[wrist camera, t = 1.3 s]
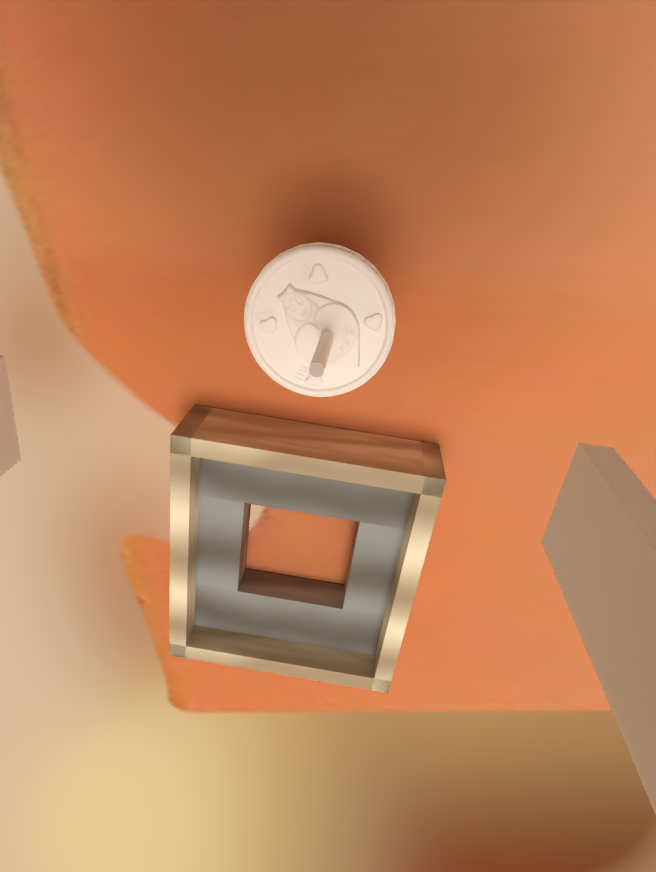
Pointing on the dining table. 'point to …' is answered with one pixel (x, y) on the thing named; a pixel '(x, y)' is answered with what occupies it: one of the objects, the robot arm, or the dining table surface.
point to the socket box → (287, 595)
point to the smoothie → (320, 319)
